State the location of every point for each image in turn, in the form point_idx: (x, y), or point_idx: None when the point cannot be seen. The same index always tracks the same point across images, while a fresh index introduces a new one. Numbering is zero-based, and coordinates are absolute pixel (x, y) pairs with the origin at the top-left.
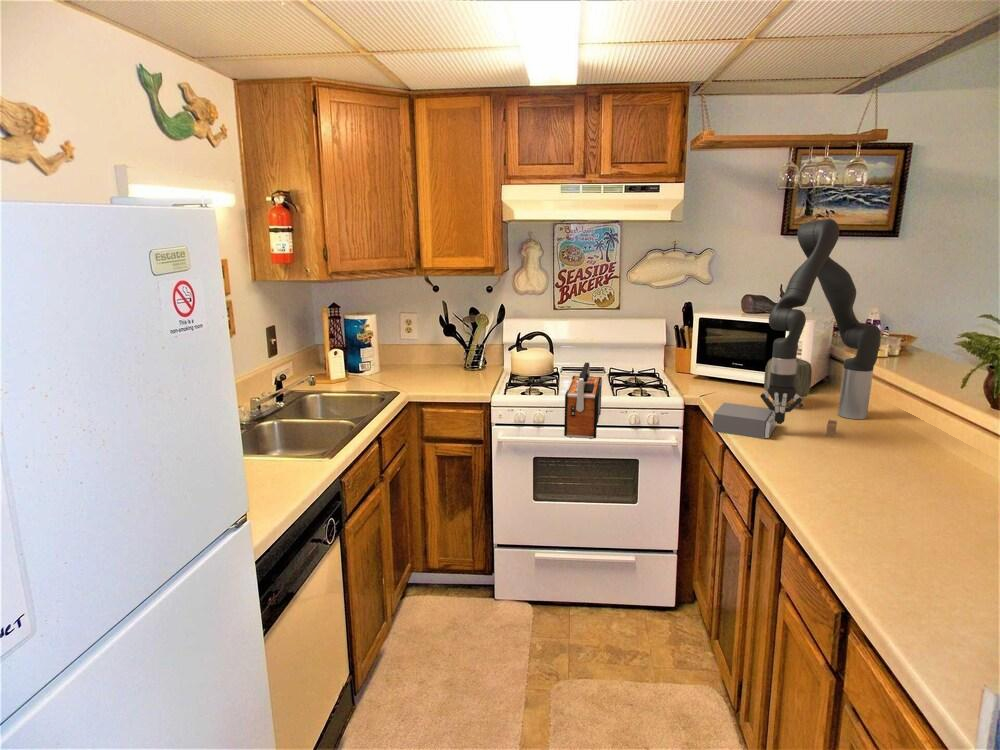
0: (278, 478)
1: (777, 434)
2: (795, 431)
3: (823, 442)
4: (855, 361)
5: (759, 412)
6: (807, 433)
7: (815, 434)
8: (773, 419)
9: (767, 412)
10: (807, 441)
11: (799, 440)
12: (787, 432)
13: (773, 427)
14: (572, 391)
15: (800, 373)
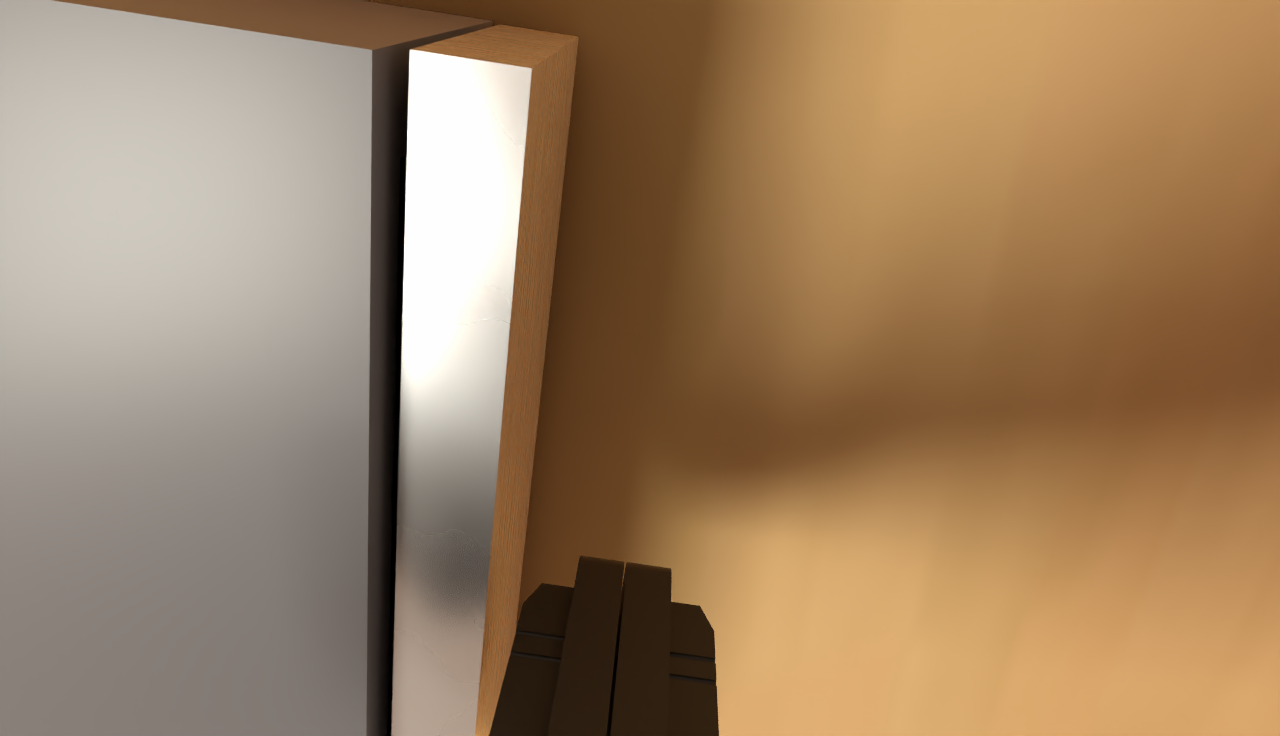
0: None
1: (614, 508)
2: (928, 240)
3: (1229, 642)
4: None
5: (109, 594)
6: (1124, 287)
7: (1257, 297)
8: (488, 657)
9: (288, 531)
10: (1007, 667)
11: (904, 661)
12: (777, 352)
13: (532, 428)
14: None
15: None
